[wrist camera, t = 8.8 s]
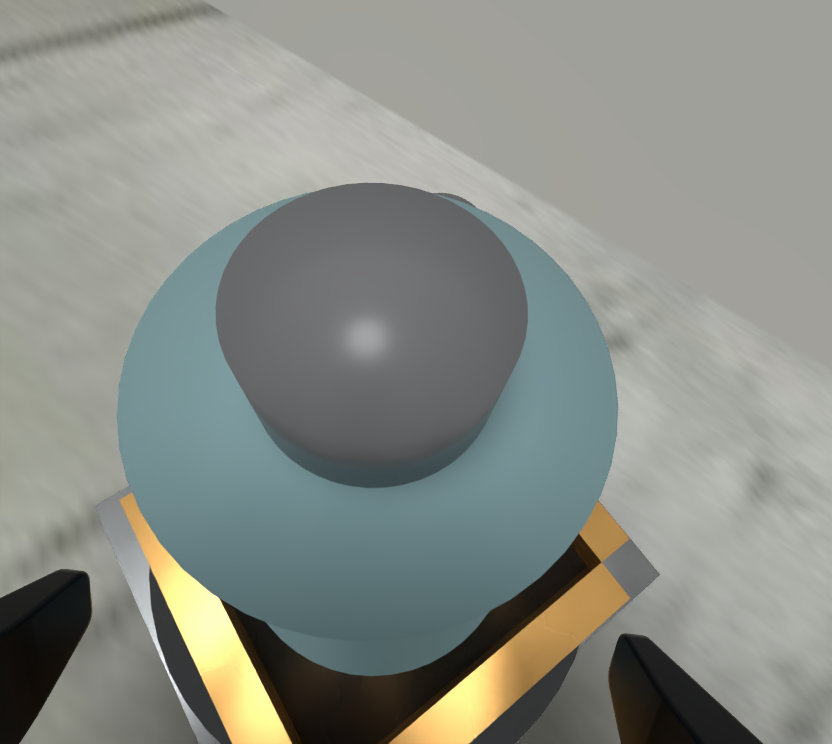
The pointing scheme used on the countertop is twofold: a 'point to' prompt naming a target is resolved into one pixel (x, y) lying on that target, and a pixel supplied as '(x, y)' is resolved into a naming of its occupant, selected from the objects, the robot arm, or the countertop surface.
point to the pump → (367, 420)
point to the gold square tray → (386, 694)
